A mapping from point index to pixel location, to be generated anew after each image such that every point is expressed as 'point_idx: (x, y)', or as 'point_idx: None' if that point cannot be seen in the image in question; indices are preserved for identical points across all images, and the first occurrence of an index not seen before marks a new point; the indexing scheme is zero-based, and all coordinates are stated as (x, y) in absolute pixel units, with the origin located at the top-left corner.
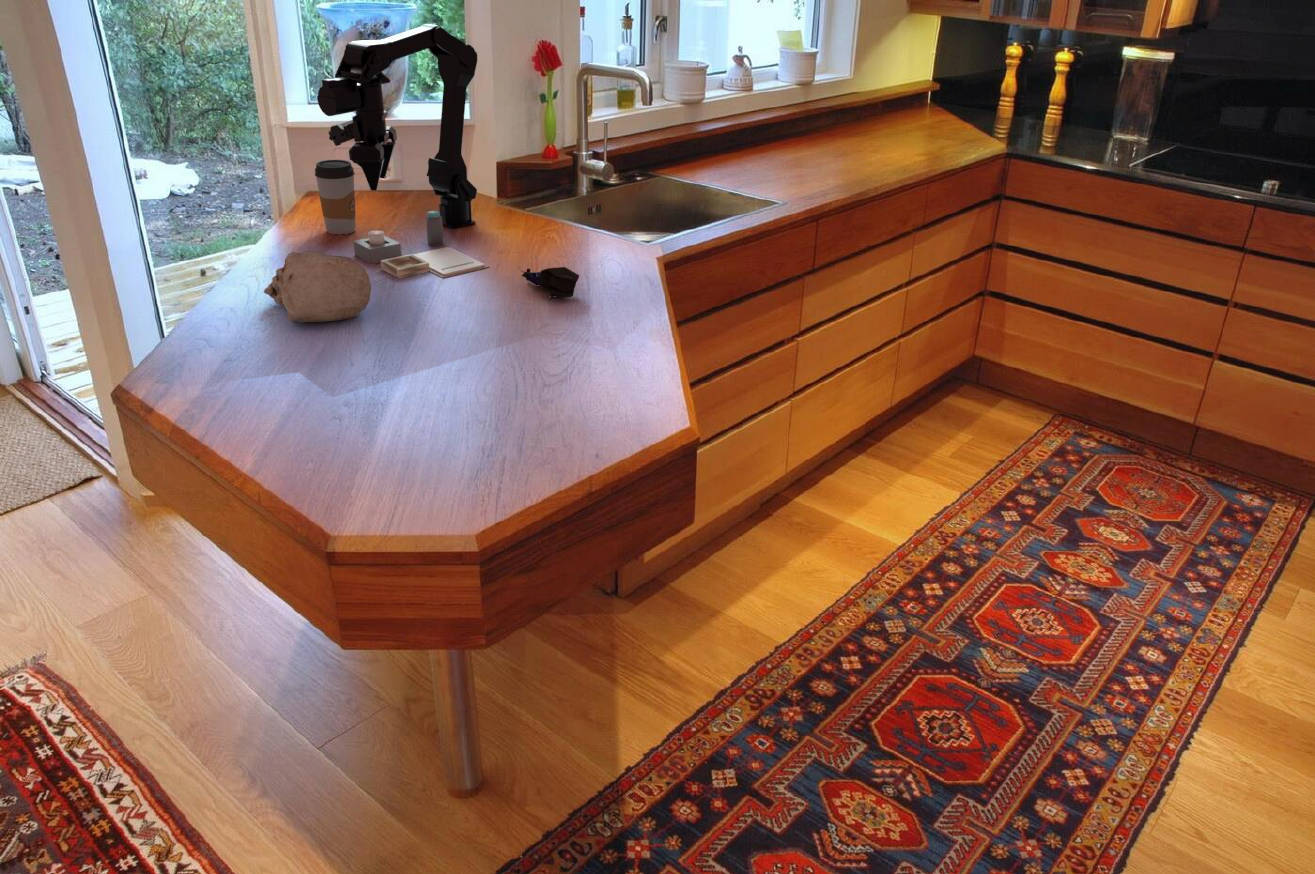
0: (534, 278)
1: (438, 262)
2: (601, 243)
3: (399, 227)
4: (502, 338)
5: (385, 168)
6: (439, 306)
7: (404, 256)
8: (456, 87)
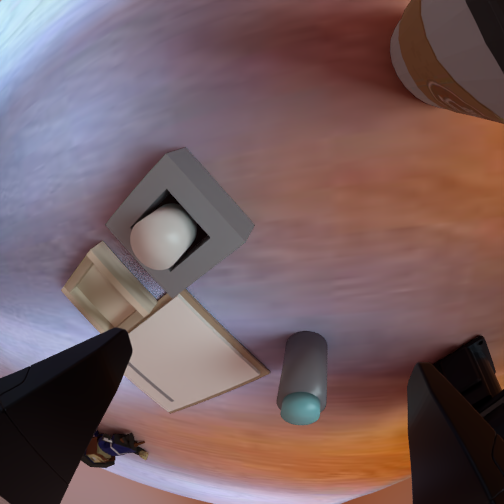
0: (100, 439)
1: (152, 353)
2: (304, 499)
3: (466, 244)
4: (8, 370)
5: (413, 448)
6: (24, 331)
7: (128, 300)
8: None
